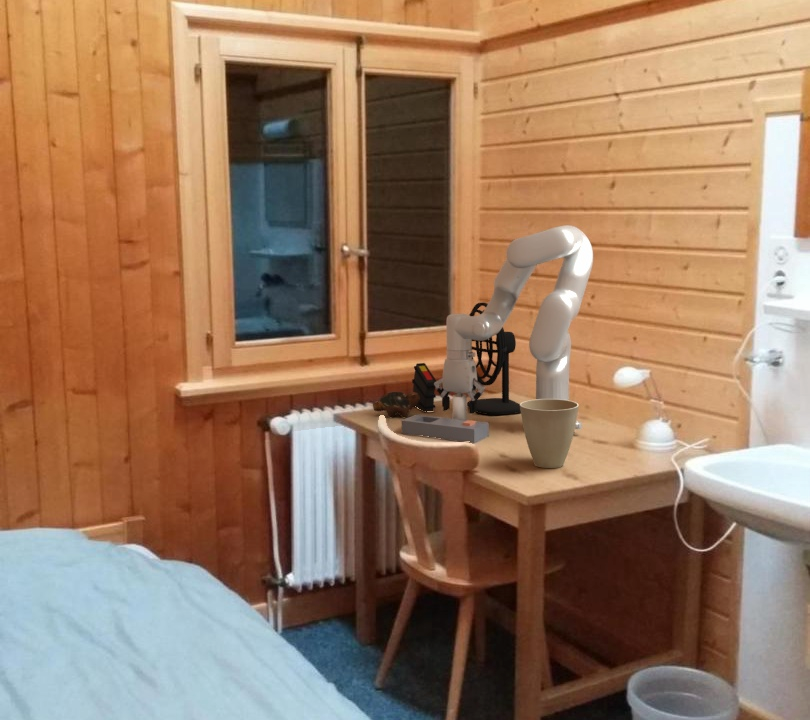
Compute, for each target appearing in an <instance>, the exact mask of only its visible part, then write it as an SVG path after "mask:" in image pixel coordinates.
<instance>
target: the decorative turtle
mask: <svg viewBox="0 0 810 720" xmlns="http://www.w3.org/2000/svg"><path fill="white" fill-rule="evenodd" d="M419 399H420V397H419V395H418V393H415V392H413V391H410V392H409V393H407V394H406V393H404V392H401V391H391V392H388V393H386V394H384V395H382V396H381V397H380V398H379V400H378V401H375V402H373V403H372V409H373V411H375V412H384V411H385V412H386V413H387V417H388V418H390V417H392V418H394V417H395V415H396V414H399V416H400V417H401V418H402V417H406V418H408V415H409V413H410V410H412V409H414V408H415V406H416V405H417V403H418V402H419V401H418V400H419Z"/></svg>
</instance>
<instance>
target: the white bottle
mask: <svg viewBox="0 0 810 720" xmlns="http://www.w3.org/2000/svg"><path fill="white" fill-rule="evenodd" d="M451 398H452V399H451V400H452V401H451V403H452V404H451V405H452V419H461V420H468V406H467V403H468V394H464V393H456V392H455V394H453V395H452V397H451Z"/></svg>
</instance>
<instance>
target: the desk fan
mask: <svg viewBox="0 0 810 720" xmlns="http://www.w3.org/2000/svg"><path fill="white" fill-rule="evenodd" d="M488 303H489V302H484V301H483V302H477V303H475V305H474V306H473V308H472V310H471V311H470V313H469V314H468V315H470V316H476V315H475V314H476V313H478V315H480V314H482V313H483V312H484V310H485V309H483V310H481V309H479V308H481V307H482V306H483V307H485V308H486V307H487V305H488ZM516 341H517V340H516V336H515V334H514V333H513V332H512V331H505V329H504V326H503V327H502V328H501V330H500V331H499V332H498V333H497V334H496V335H495V340H493V336H492V337H490V338H489V339H487V340H483V341H478V340H473V339H472V342H475V346H473V345H472V351H475V353H476V357H477V363H476V364H475V365H476V371H477V381H478V382H479V383H481V384H482V385H483V386H485V387H486V386H491V385H493V384H494V383H495V381H496V380H497V378H498V377H499V375H500V373H501V397H491V398H481V399H480V398H479V399H477V410H476V412H477V413H478V414H482V415H489V416H490V415H491V416H495V415H496V416H498V415H509V414H517V413H518V414H519V413H521V410H520V403H518V402H516V401H514V400H512V399H510V388H509V387H510V368H509V367H510V354H511V353H514V352H515V350H516V345H517V343H516ZM483 343H485V346H486V348H483ZM494 345H495V346H496V349H494V348H493V346H494ZM483 353H487V356H488V362H487V367H486V368H485V366H484V364H483V360H482V359H483V358H482V355H483ZM493 354H497V355H496V363H495V362H494V360H493V357H494V356H493ZM472 359H474V357H472ZM492 366H494V371H493V373H492V374H491V375H490V371H491V369H492ZM479 367H480V369H481V372H482V373H483V375H481V376H480V374H479V372H478V370H477V368H479ZM485 378H489V379H487V380H486V381H484V380H483V379H485ZM467 408H469V401H467ZM476 412H475V413H476Z"/></svg>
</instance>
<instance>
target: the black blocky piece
mask: <svg viewBox="0 0 810 720" xmlns="http://www.w3.org/2000/svg"><path fill="white" fill-rule="evenodd" d="M413 369H414V373H413V374H414V376H413V379H411V382H412V384H413V385H412V386H413V387H412V392H415V393H418V395H419V397H420V399H419V400H418V401H419V402H418V403H417V405H416V407H418V408H419V409H421V410H423V411H426V412H427V411H435V409H436V405H435V398H436V397H437V395H436V394H435V392H436V387H435V385H434V383H435V382H436V381H437V379H436V378H435V377H434V375H433V374H432V372H431V370H430V369H429V367H428V365H427V364H426V363H425V362H420V363H418V362H417V363H416V365H414V366H413ZM419 409H418V410H419ZM421 410H420V411H421ZM423 411H422V412H423Z"/></svg>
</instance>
